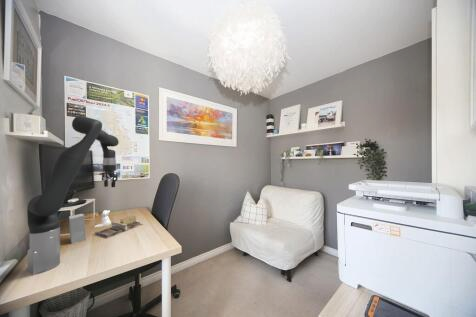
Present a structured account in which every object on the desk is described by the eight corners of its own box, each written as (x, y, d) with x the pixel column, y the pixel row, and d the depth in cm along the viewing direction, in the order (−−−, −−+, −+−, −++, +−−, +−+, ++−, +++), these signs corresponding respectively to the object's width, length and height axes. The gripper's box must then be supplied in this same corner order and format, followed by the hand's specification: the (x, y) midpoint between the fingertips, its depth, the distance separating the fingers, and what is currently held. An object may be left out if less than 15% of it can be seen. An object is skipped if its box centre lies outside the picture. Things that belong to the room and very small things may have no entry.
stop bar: (132, 223, 127) (132, 215, 127) (135, 224, 126) (135, 216, 126) (120, 227, 119) (120, 219, 119) (123, 228, 118) (123, 220, 118)
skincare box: (86, 241, 101) (85, 215, 101) (69, 246, 96) (69, 218, 96) (84, 237, 107) (84, 212, 107) (68, 241, 102) (68, 215, 102)
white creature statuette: (103, 224, 130) (103, 208, 130) (114, 223, 130) (114, 208, 131) (93, 228, 121) (93, 212, 121) (106, 228, 121) (105, 211, 121)
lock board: (106, 240, 102) (106, 232, 102) (91, 236, 109) (91, 228, 109) (143, 225, 125) (143, 218, 125) (129, 222, 132) (129, 216, 132)
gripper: (121, 164, 121) (121, 186, 121) (109, 164, 126) (109, 185, 126) (109, 164, 114) (109, 188, 114) (97, 164, 120) (97, 187, 119)
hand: (109, 186), depth 120 cm, fingers open, 8 cm apart
